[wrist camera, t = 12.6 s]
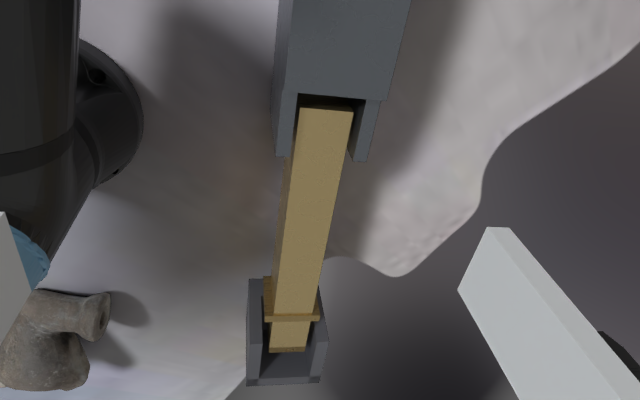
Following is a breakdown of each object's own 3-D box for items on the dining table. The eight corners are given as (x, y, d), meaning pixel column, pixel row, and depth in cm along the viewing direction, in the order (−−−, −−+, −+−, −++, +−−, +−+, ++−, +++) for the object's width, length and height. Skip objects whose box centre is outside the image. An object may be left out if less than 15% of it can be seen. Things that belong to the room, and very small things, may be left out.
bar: (259, 313, 55) (260, 354, 50) (282, 81, 38) (288, 107, 32) (306, 312, 56) (311, 352, 51) (349, 88, 39) (365, 114, 34)
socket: (246, 320, 60) (246, 386, 52) (249, 279, 56) (249, 344, 47) (309, 319, 62) (318, 382, 54) (317, 279, 58) (329, 341, 49)
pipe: (46, 266, 59) (31, 367, 60) (-23, 274, 51) (-40, 391, 51) (132, 292, 54) (115, 403, 54) (70, 306, 45) (50, 437, 46)
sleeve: (269, 108, 42) (276, 163, 33) (292, -154, 31) (312, -186, 21) (343, 114, 44) (369, 168, 34) (390, -132, 32) (449, -153, 23)
